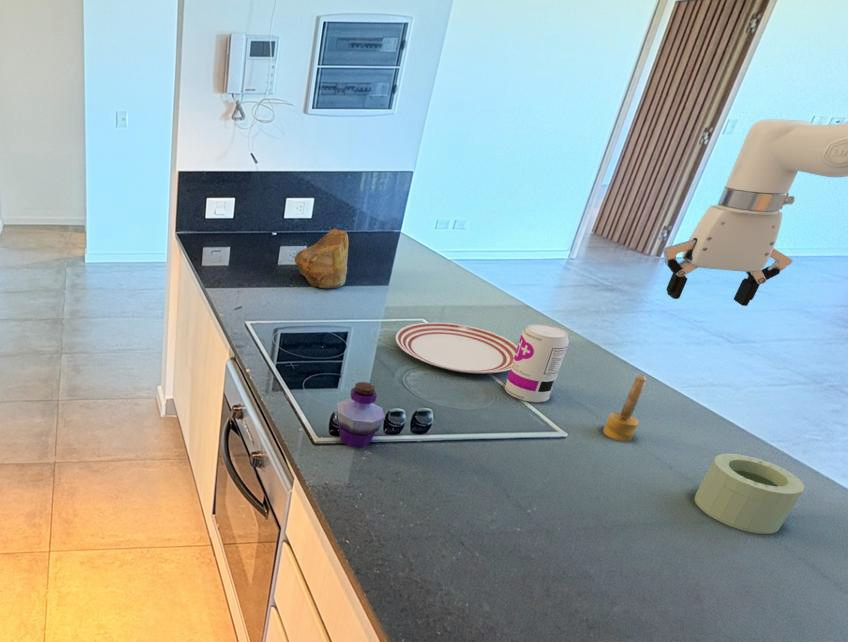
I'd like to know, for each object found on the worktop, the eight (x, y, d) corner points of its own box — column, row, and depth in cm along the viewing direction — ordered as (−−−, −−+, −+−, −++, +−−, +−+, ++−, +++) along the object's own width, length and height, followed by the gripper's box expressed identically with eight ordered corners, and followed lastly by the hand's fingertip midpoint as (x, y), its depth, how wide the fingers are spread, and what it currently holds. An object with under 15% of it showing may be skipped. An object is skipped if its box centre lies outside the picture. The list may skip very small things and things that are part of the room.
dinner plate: (489, 395, 130) (493, 381, 129) (371, 352, 149) (374, 340, 148) (539, 359, 146) (543, 347, 144) (427, 325, 165) (430, 313, 163)
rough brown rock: (299, 268, 211) (301, 225, 205) (350, 270, 205) (353, 226, 198) (286, 291, 193) (287, 245, 186) (342, 294, 186) (345, 246, 179)
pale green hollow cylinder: (757, 501, 99) (780, 460, 96) (793, 542, 91) (820, 499, 87) (682, 488, 102) (702, 448, 99) (710, 527, 94) (733, 484, 90)
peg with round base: (628, 433, 117) (654, 373, 111) (633, 445, 114) (660, 383, 108) (600, 428, 119) (624, 368, 113) (604, 439, 115) (630, 378, 109)
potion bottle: (383, 438, 115) (396, 382, 110) (371, 460, 109) (384, 402, 104) (338, 424, 120) (348, 370, 114) (323, 445, 113) (333, 388, 108)
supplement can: (510, 402, 128) (531, 336, 121) (498, 384, 135) (518, 321, 128) (553, 407, 126) (578, 340, 119) (540, 388, 133) (562, 324, 126)
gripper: (803, 200, 101) (755, 298, 108) (676, 193, 106) (639, 287, 113) (833, 210, 94) (779, 313, 102) (696, 201, 99) (655, 301, 107)
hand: (705, 299), depth 108 cm, fingers open, 9 cm apart
